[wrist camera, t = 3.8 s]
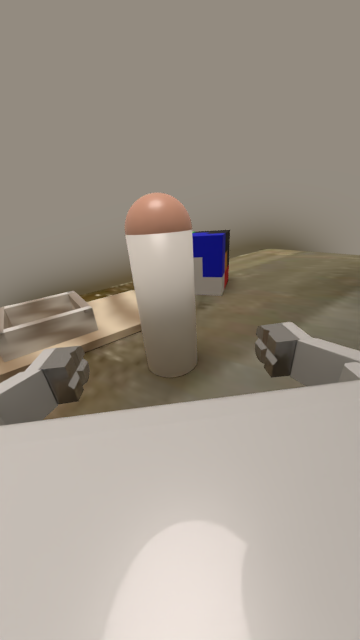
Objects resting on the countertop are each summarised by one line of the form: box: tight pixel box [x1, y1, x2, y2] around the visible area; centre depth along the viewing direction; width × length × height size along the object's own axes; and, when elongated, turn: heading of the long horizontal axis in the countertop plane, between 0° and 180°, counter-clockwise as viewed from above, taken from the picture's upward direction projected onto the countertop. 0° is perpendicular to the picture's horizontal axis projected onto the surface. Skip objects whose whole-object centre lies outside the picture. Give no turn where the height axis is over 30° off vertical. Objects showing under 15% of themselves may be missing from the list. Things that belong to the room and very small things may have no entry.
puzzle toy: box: [192, 230, 230, 296], centre depth 40 cm, size 10×10×10 cm
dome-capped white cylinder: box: [125, 193, 197, 377], centre depth 18 cm, size 5×5×14 cm
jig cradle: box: [0, 290, 142, 383], centre depth 29 cm, size 22×14×4 cm, turn 127°
